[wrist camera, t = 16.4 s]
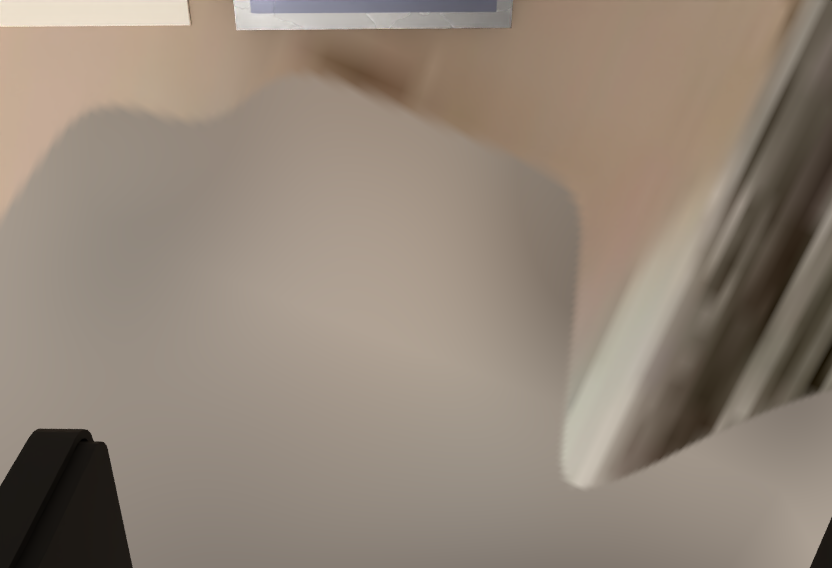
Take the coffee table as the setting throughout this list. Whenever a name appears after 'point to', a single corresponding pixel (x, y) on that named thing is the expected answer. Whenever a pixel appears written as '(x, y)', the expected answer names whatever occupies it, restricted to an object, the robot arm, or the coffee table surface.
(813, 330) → the coffee table surface
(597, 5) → the coffee table surface
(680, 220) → the coffee table surface
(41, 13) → the paper
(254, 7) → the ink pad
